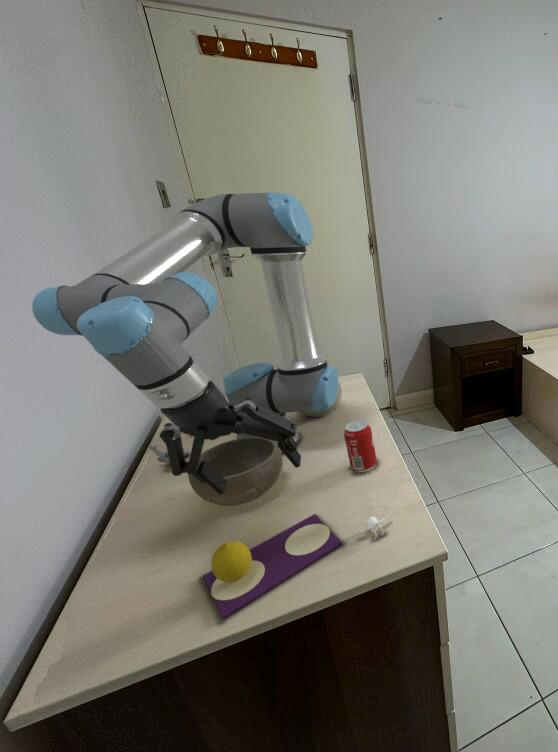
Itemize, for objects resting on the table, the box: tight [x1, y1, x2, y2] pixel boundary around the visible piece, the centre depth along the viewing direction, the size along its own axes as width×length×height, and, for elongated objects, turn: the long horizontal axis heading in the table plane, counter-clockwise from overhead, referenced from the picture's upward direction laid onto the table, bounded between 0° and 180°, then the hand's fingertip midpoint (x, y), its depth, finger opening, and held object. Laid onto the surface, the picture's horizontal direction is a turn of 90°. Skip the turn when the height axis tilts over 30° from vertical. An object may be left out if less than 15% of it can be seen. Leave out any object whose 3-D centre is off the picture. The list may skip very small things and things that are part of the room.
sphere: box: [298, 380, 343, 418], centre depth 126 cm, size 15×14×15 cm
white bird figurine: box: [353, 515, 391, 540], centre depth 79 cm, size 8×5×5 cm, turn 132°
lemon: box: [211, 540, 252, 582], centre depth 68 cm, size 6×6×8 cm
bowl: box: [187, 437, 284, 507], centre depth 91 cm, size 17×18×10 cm
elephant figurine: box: [148, 444, 191, 465], centre depth 103 cm, size 10×6×9 cm
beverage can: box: [343, 420, 378, 473], centre depth 99 cm, size 6×6×12 cm
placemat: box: [202, 514, 343, 621], centre depth 74 cm, size 12×20×1 cm, turn 139°
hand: (261, 474), depth 74 cm, fingers open, 13 cm apart
